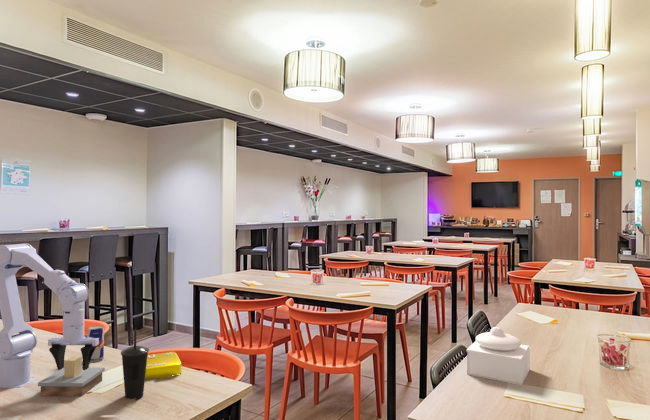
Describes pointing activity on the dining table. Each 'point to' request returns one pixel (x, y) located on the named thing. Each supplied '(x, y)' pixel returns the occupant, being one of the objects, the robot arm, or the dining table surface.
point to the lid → (72, 374)
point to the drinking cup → (134, 369)
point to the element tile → (162, 365)
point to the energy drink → (99, 333)
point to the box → (70, 389)
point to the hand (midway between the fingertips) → (73, 368)
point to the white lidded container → (498, 357)
